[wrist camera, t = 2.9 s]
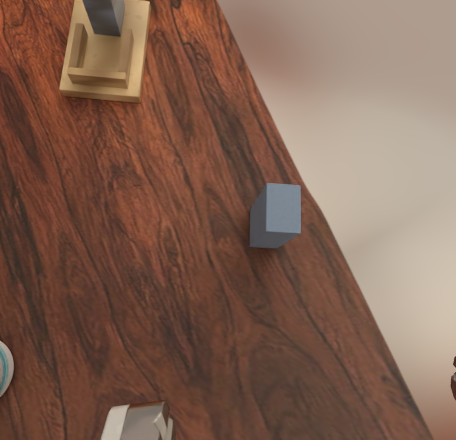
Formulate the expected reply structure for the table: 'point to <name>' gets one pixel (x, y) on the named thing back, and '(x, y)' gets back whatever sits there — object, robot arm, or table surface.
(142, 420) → the robot arm
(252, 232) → the loose pad
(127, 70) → the pad board
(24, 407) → the table surface
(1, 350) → the pill bottle
